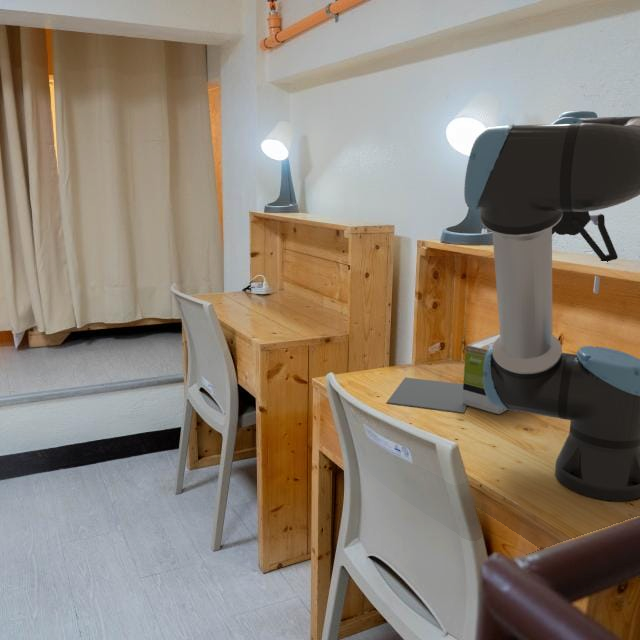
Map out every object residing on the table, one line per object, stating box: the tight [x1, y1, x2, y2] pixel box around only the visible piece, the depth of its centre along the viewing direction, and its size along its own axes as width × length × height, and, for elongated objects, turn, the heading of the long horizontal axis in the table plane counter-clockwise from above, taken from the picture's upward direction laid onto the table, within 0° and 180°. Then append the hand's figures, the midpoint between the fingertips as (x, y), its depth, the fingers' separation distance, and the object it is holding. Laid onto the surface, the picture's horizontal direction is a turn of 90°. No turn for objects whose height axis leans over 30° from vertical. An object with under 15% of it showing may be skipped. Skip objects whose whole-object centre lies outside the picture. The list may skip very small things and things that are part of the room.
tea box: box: [462, 333, 508, 415], centre depth 148 cm, size 15×10×15 cm
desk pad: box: [386, 377, 468, 414], centre depth 155 cm, size 20×18×1 cm
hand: (561, 290), depth 136 cm, fingers open, 13 cm apart
